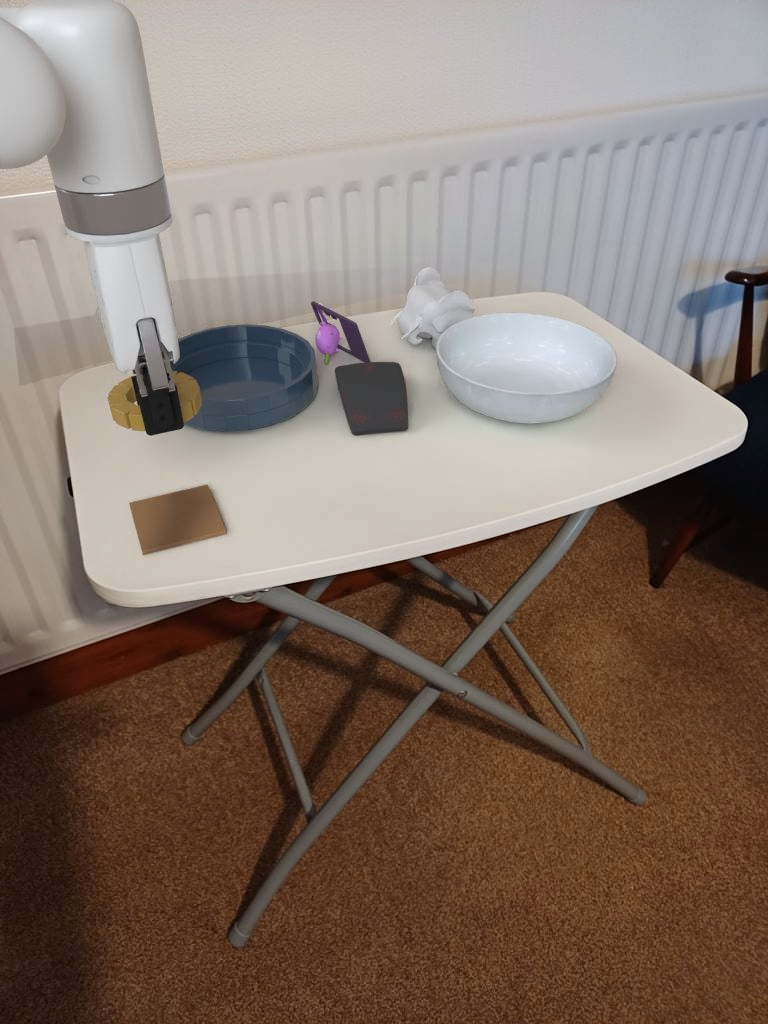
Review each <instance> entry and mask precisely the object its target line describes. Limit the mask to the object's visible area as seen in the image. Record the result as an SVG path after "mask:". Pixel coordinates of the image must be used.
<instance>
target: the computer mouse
mask: <svg viewBox="0 0 768 1024" xmlns="http://www.w3.org/2000/svg"><path fill="white" fill-rule="evenodd" d="M334 375H335V379H336V383H337V389H338V392H339V396H340V400H341V404H342V407H343V411H344V414H345V417H346V421H347V424H348V428H349V430H350V433H351V434H352V435H353V436H363V435H375V434H385V433H386V434H387V433H397V432H398V433H399V432H405V431H408V429H409V411H408V410H409V409H408V395H407V394H408V393H407V385H406V379H405V375H404V372H403V368H402V366H401V364H400V363H399V362H395V361H370V362H357V363H350V364H349V363H348V364H344V365H339V366H336V367H335V368H334Z"/></svg>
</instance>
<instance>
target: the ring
mask: <svg viewBox="0 0 768 1024" xmlns="http://www.w3.org/2000/svg"><path fill="white" fill-rule="evenodd" d="M172 375H173V380H174V385H176V387H177V391H178V396H179V401H180V406H181V411H182V416H183V422H184V423H185V422H186V421H188V420H190V419H192V418H194V415H197V413H198V411H199V410H200V408H201V406H202V398H201V392H200V387H199V385H198V383H197V381H196V379H194V378H193V377H191V376H189V375H187V374H185V373H182V372H180V373H178V372H177V371H172ZM117 383H118V384H115V385H114V386H113V387H112V388H111V390H110V391H109V392H108V394H107V397H106V398H107V403H108V406H109V409H110V414H111V417H112V421H114V422H115V424H117V425H119V426H121V427H123V428H125V429H127V430H130V429H131V431H133V432H146V431H145V427H144V423H143V418H142V414H141V410H140V406H139V405H138V404H136V403H137V400H136V396H135V392H134V387H133V383H132V379H131V376H129V377H127V378H125V379H123V380H121V381H119V382H117Z"/></svg>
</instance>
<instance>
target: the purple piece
mask: <svg viewBox="0 0 768 1024" xmlns="http://www.w3.org/2000/svg"><path fill="white" fill-rule="evenodd" d="M310 305H311V308H312V310H313V312H314V315H315V319H316V320H317V322H318V327H319V328H318V330H317V332H316V334H315V346H316V348H317V351H319V353H321V354H323V355H325V356H324V359H323V361H324V362H323V364H325V365H328V363H329V359H330V356H333V355H335V353H339V352H340V350H341V351H343V352H345V353H347V354H348V355H350V356H352V357H354V358H355V359H358V360H360V361H361V362H362V363H364V362H371V360H370V356H369V354H368V351H367V348H366V345H365V342H364V340H363V337H362V334H361V332H360V329H359V326H358V323H357V321H356V322H355V321H354V320H352V319H350V318H348V317H346V316H343V315H342V314H340V313H338V312H336V311H334V310H332V309H330V308H328V307H326V306H324V304H323V303H321V302H316V301H314V300H313V301H311V302H310ZM324 314H325V315H326V316H325V315H324ZM327 317H331V318H332V319H333V320H335V321H339V323H340V326H341V329H342V331H343V334H344V336H345V339H346V342H347V345H348V347H349V349H348V348H347V347H344V346H343V345H341V344H339V342H340V340H342V339H343V337H342V336H341V332H340V330H339V329H338V328H337V327H336V325H334V324H332V323H330V322H329V321H328V318H327Z"/></svg>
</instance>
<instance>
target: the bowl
mask: <svg viewBox="0 0 768 1024" xmlns="http://www.w3.org/2000/svg"><path fill="white" fill-rule="evenodd" d="M178 344H179V352H180V358H179V359H178V361H177V362H176V363H175V364H173V362H172V361H170V365H171V370H172V371H177V372H178V373H180V372H182V373H185V374H187V375H189V376H191V377H193V378H194V379H196V381H197V383H198V385H199V387H200V392H201V398H202V406H201V408H200V410H199V411H198V413H197V415H194V418H192V419H190V420H188V421H186V422H185V423H184V426H185V425H186V426H188V427H192V428H197V429H200V430H201V429H202V430H206V431H216V432H217V431H219V432H235V431H236V432H237V431H249V430H254V429H255V430H256V429H259V428H264V427H269V426H273V425H275V424H277V423H281V422H283V421H285V420H288V419H290V418H292V417H294V416H295V415H297V414H298V413H300V412H301V411H303V410H304V409H306V408H307V407H308V405H309V404H310V403H311V402H312V401H313V400H314V398H315V396H316V393H317V391H318V388H319V387H318V370H317V358H316V351H315V350H316V349H315V348H314V346H312V344H311V343H310V342H309V340H307V339H305V338H304V337H302V336H301V335H299V334H297V333H295V332H293V331H290V330H287V329H285V328H281V327H275V326H272V325H271V326H270V325H264V324H248V323H247V324H245V323H244V324H230V325H222V326H215V327H210V328H206V329H202V330H199V331H195V332H192V333H189V334H187V335H185V336H183V337H181V338H178Z"/></svg>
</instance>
